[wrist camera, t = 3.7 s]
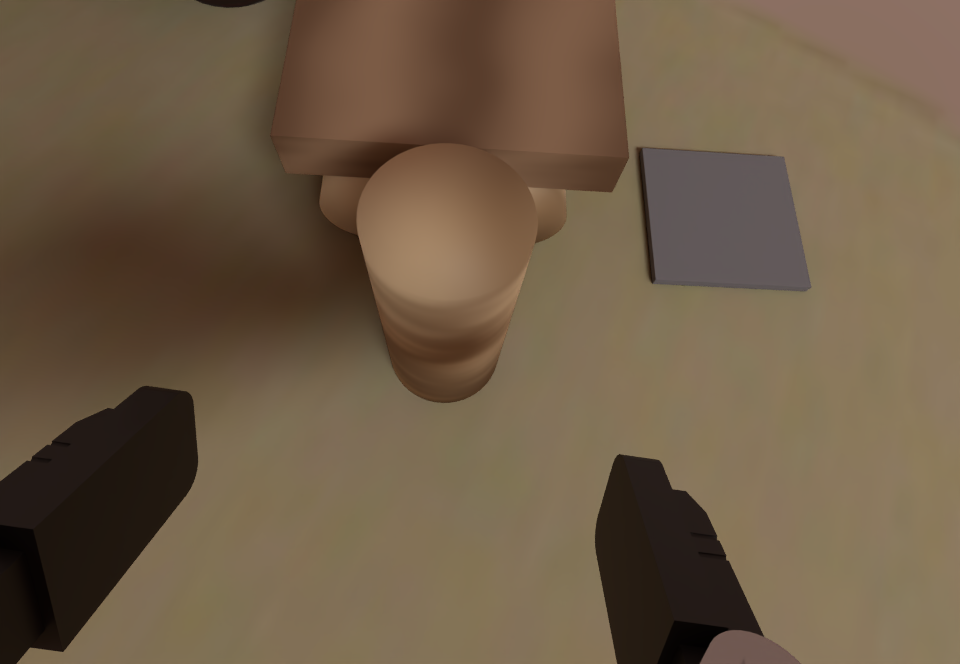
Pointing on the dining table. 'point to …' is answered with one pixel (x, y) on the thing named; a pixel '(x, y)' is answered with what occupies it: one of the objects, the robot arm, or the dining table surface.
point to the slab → (453, 93)
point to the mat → (721, 221)
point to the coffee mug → (229, 2)
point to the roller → (446, 262)
